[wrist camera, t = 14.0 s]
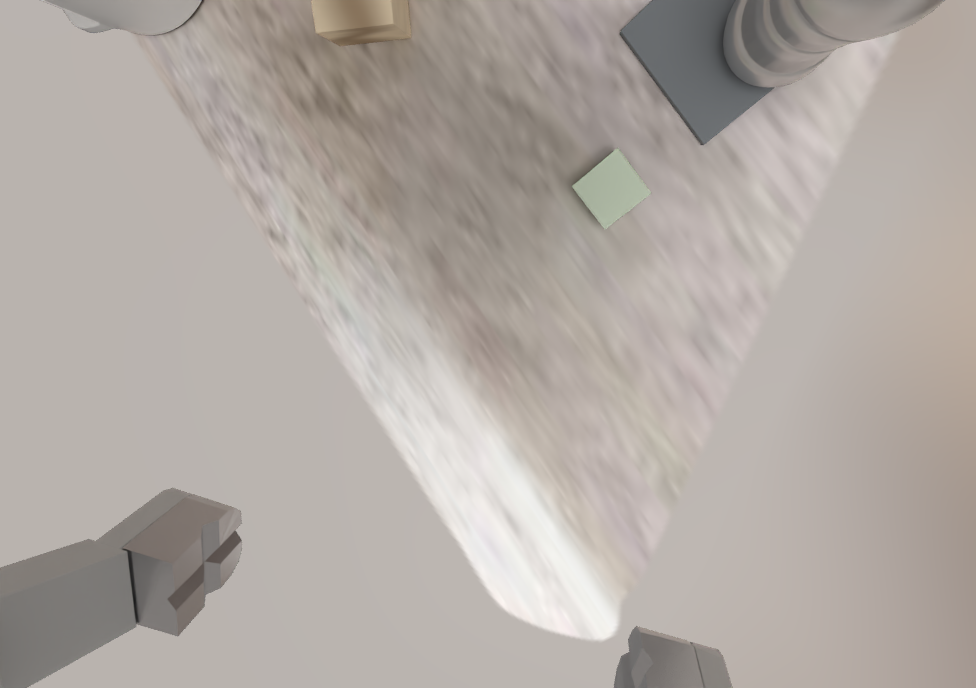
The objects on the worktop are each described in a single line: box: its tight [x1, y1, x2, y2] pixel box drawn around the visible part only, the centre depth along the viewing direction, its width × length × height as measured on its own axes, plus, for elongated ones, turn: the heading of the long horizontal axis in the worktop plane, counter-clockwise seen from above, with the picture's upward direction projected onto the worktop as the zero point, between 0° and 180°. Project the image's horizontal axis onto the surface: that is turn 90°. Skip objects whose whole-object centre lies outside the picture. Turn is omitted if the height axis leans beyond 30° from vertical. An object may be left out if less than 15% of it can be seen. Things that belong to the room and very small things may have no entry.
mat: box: [620, 0, 775, 145], centre depth 33 cm, size 10×10×1 cm
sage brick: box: [572, 148, 651, 229], centre depth 36 cm, size 4×4×4 cm
